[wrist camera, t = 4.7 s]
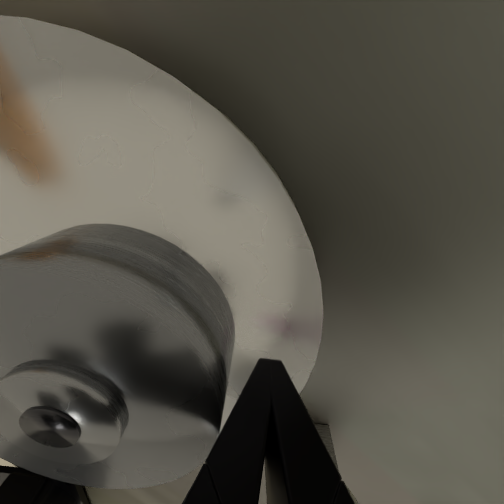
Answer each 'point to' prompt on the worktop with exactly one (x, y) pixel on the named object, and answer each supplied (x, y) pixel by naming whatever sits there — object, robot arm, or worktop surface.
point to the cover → (110, 358)
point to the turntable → (154, 182)
